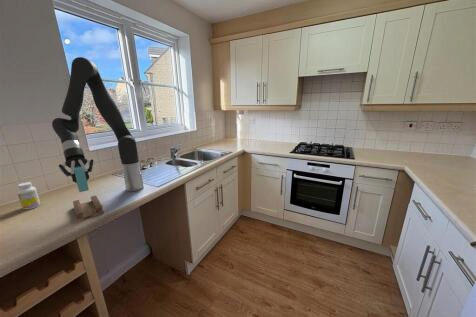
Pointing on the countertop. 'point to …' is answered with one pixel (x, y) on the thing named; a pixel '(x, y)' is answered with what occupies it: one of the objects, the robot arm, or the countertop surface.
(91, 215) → the wooden cradle
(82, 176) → the teal rectangular block
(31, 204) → the supplement bottle
